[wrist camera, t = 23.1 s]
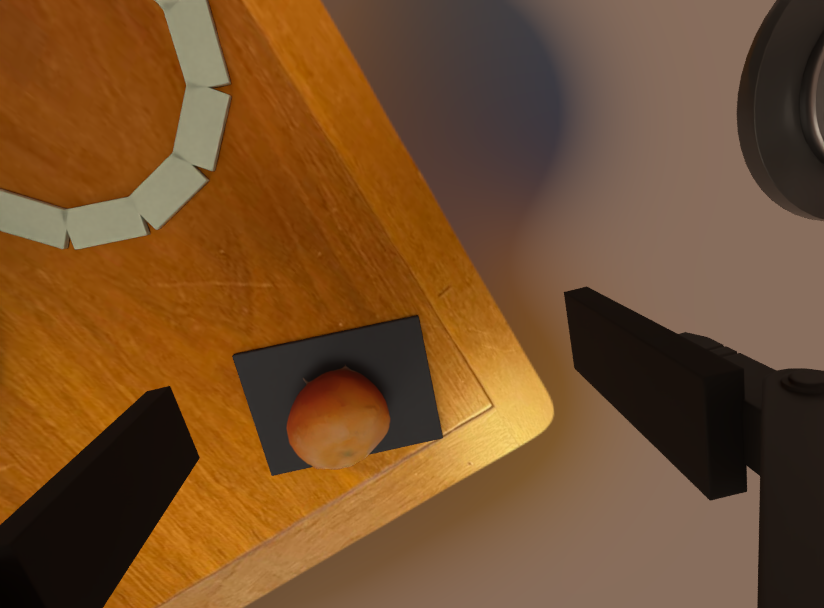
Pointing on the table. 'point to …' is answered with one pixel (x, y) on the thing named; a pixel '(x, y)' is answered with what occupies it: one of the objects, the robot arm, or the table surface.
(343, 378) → the fruit
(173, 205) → the segmented grey ring
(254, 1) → the table surface
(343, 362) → the mat
